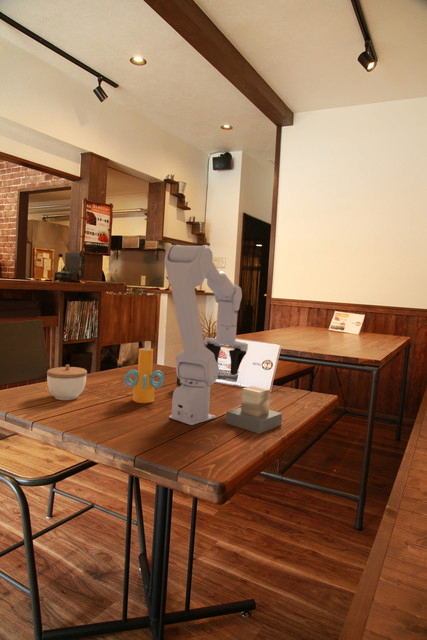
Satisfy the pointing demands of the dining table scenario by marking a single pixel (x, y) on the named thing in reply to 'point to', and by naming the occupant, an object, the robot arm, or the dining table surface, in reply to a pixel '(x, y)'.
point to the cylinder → (144, 378)
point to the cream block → (255, 400)
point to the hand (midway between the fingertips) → (223, 372)
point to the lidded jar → (66, 382)
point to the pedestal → (254, 420)
